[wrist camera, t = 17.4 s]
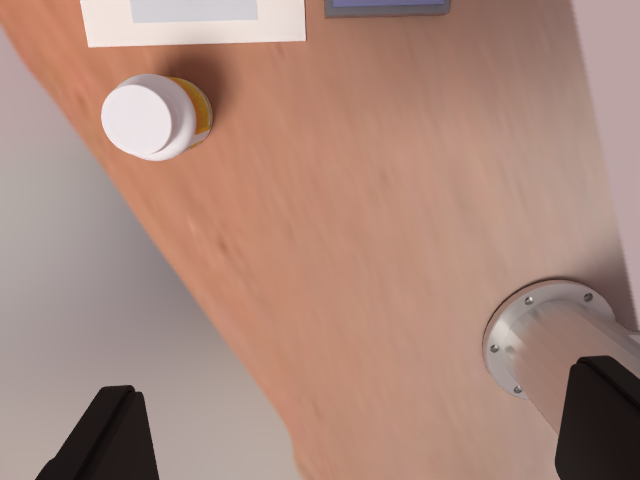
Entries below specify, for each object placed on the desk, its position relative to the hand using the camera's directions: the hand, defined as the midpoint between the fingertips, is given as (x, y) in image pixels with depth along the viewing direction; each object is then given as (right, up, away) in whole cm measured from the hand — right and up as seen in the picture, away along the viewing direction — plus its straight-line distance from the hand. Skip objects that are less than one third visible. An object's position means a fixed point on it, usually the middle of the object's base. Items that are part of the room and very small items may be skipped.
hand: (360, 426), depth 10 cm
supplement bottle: (-12, +14, +25) cm, 31 cm away
